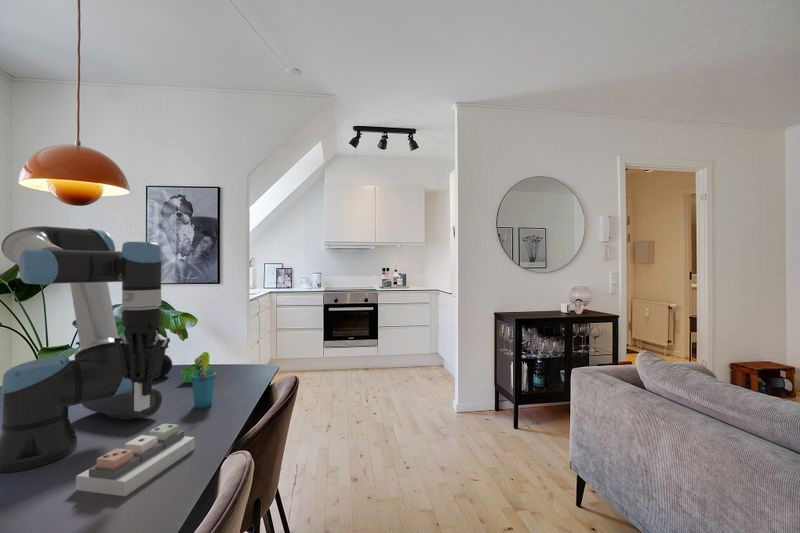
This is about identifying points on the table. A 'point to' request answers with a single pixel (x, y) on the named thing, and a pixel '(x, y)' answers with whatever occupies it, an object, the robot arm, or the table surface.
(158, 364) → the robot arm
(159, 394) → the bluetooth speaker
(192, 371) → the small green plant
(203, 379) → the cup
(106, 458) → the three dot tile
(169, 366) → the decorative ball
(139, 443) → the one dot tile
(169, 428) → the two dot tile
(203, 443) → the table surface
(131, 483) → the tile tray
